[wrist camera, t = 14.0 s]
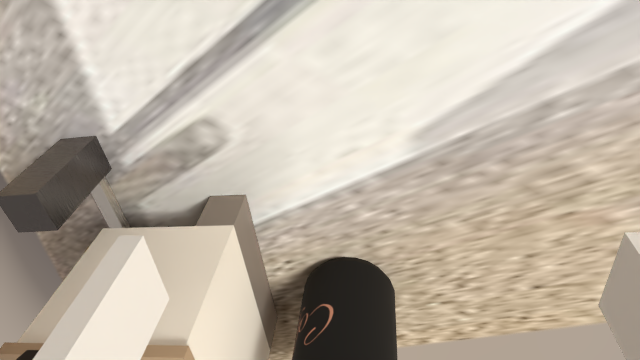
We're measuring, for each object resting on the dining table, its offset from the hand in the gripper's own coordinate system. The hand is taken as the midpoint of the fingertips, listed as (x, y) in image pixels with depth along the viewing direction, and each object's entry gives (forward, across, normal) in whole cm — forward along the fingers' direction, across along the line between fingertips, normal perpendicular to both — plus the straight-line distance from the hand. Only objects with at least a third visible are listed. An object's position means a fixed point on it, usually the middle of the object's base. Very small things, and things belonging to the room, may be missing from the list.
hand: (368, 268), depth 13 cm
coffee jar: (+29, -4, -32) cm, 43 cm away
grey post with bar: (+29, -30, -20) cm, 46 cm away
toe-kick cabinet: (+29, -21, -28) cm, 45 cm away
